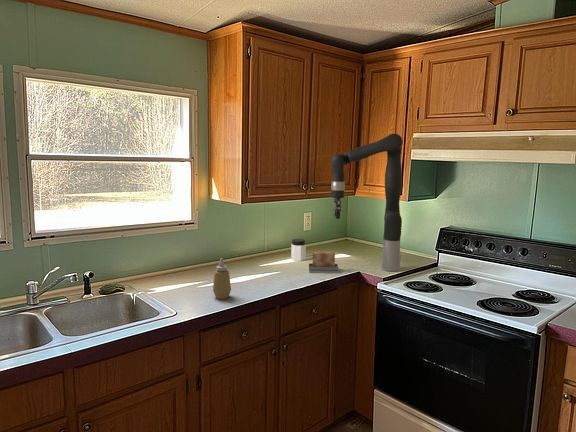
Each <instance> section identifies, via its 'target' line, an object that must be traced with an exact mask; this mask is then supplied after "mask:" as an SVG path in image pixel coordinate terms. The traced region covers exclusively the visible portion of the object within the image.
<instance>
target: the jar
mask: <svg viewBox="0 0 576 432" xmlns="http://www.w3.org/2000/svg"><path fill="white" fill-rule="evenodd" d="M290 248H291V249H290V250H291V253H290V254H291V255H290V258H291V260H293V261H297V262H302V261H304V260H306V258H307V251H306V250H307V245H306V239H304V238H294V239H292V240H291V247H290Z"/></svg>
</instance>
